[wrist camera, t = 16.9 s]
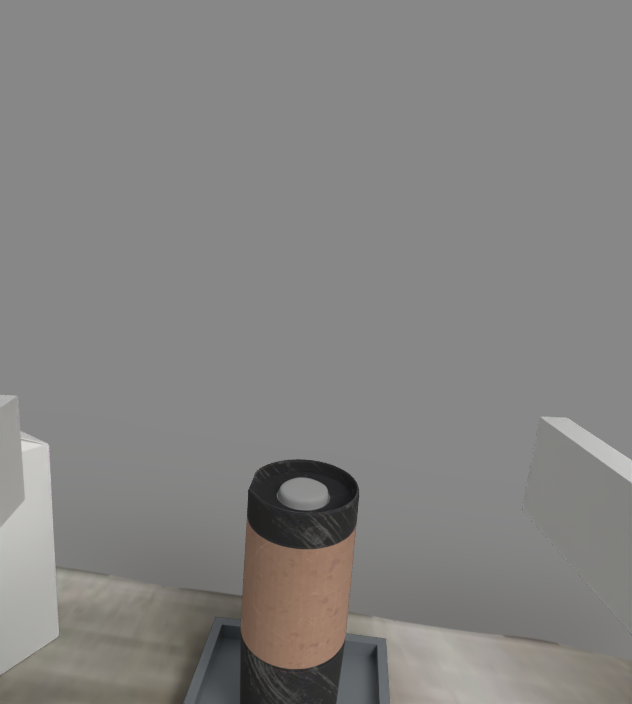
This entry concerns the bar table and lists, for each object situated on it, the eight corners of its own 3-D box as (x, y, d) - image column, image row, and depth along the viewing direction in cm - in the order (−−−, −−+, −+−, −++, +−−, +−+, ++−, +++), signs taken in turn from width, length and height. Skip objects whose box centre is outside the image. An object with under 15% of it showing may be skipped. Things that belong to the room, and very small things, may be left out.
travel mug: (357, 729, 39) (384, 491, 34) (275, 795, 34) (295, 529, 29) (294, 662, 44) (311, 449, 40) (217, 710, 40) (225, 475, 35)
